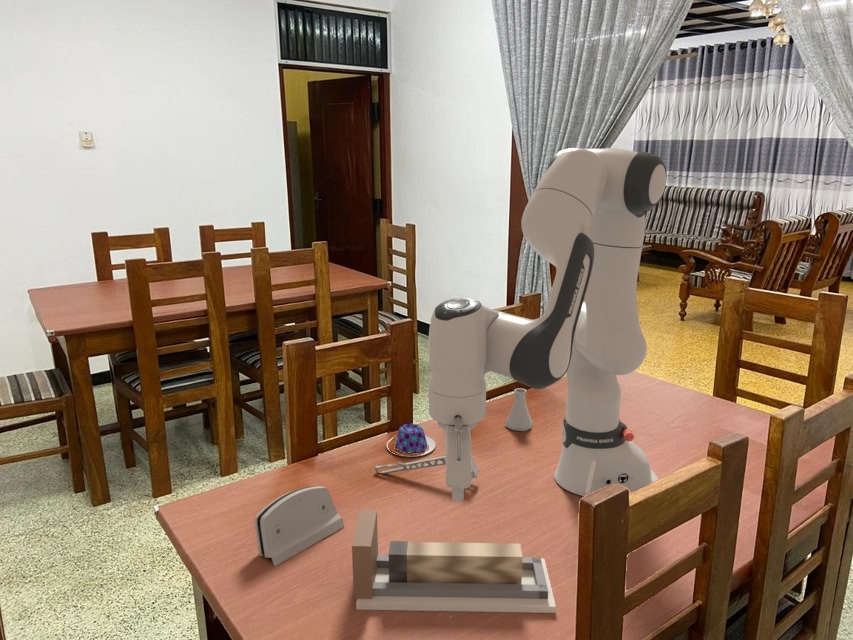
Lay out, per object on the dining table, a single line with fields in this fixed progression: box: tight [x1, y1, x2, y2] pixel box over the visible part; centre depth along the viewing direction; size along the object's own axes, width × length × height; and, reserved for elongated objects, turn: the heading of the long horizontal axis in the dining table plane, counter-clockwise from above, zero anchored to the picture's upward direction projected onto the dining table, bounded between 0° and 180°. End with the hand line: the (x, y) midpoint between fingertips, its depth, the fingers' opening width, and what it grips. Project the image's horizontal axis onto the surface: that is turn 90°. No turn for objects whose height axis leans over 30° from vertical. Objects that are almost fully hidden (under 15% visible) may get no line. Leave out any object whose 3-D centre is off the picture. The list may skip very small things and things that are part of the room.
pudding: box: [386, 423, 436, 458], centre depth 155 cm, size 12×12×5 cm
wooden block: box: [388, 540, 524, 584], centre depth 107 cm, size 22×4×6 cm, turn 89°
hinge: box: [253, 485, 345, 567], centre depth 120 cm, size 17×5×10 cm, turn 137°
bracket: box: [374, 455, 479, 480], centre depth 141 cm, size 3×21×10 cm, turn 78°
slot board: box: [351, 509, 557, 614], centre depth 106 cm, size 32×12×11 cm, turn 89°
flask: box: [504, 387, 533, 432], centre depth 166 cm, size 7×7×10 cm
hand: (457, 482), depth 102 cm, fingers open, 8 cm apart
